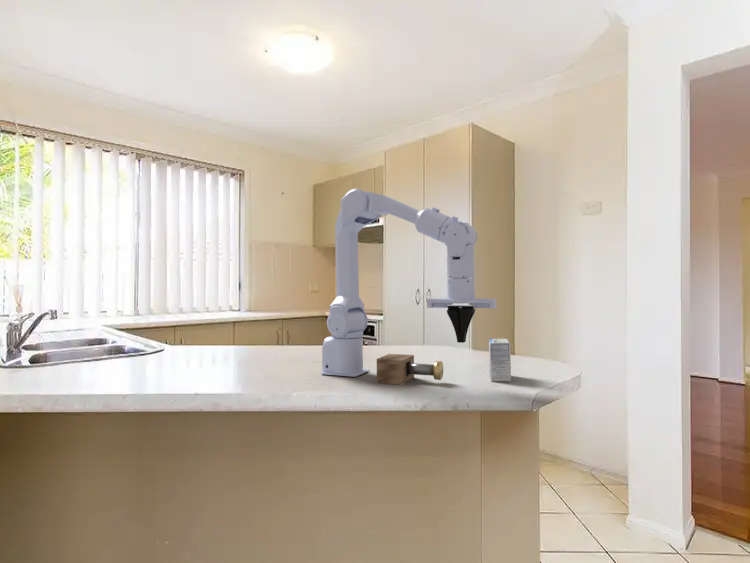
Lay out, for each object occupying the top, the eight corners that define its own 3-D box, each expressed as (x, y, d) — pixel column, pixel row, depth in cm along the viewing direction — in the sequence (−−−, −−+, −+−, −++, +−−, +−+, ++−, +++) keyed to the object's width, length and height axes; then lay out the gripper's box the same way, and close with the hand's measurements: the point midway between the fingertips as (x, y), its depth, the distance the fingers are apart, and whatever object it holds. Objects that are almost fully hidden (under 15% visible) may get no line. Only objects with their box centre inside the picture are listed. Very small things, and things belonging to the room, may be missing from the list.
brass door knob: (398, 378, 104) (398, 360, 104) (404, 375, 108) (404, 357, 108) (438, 381, 101) (438, 363, 101) (443, 378, 105) (443, 360, 105)
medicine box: (511, 382, 103) (510, 343, 103) (490, 381, 104) (489, 342, 104) (508, 375, 111) (508, 338, 111) (488, 374, 112) (488, 338, 112)
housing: (376, 382, 104) (376, 359, 104) (389, 375, 112) (389, 353, 112) (402, 384, 102) (402, 360, 102) (414, 377, 109) (413, 355, 109)
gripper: (422, 278, 100) (423, 342, 100) (492, 277, 94) (493, 345, 94) (431, 278, 107) (432, 338, 107) (497, 277, 101) (498, 341, 101)
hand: (461, 342), depth 101 cm, fingers closed
